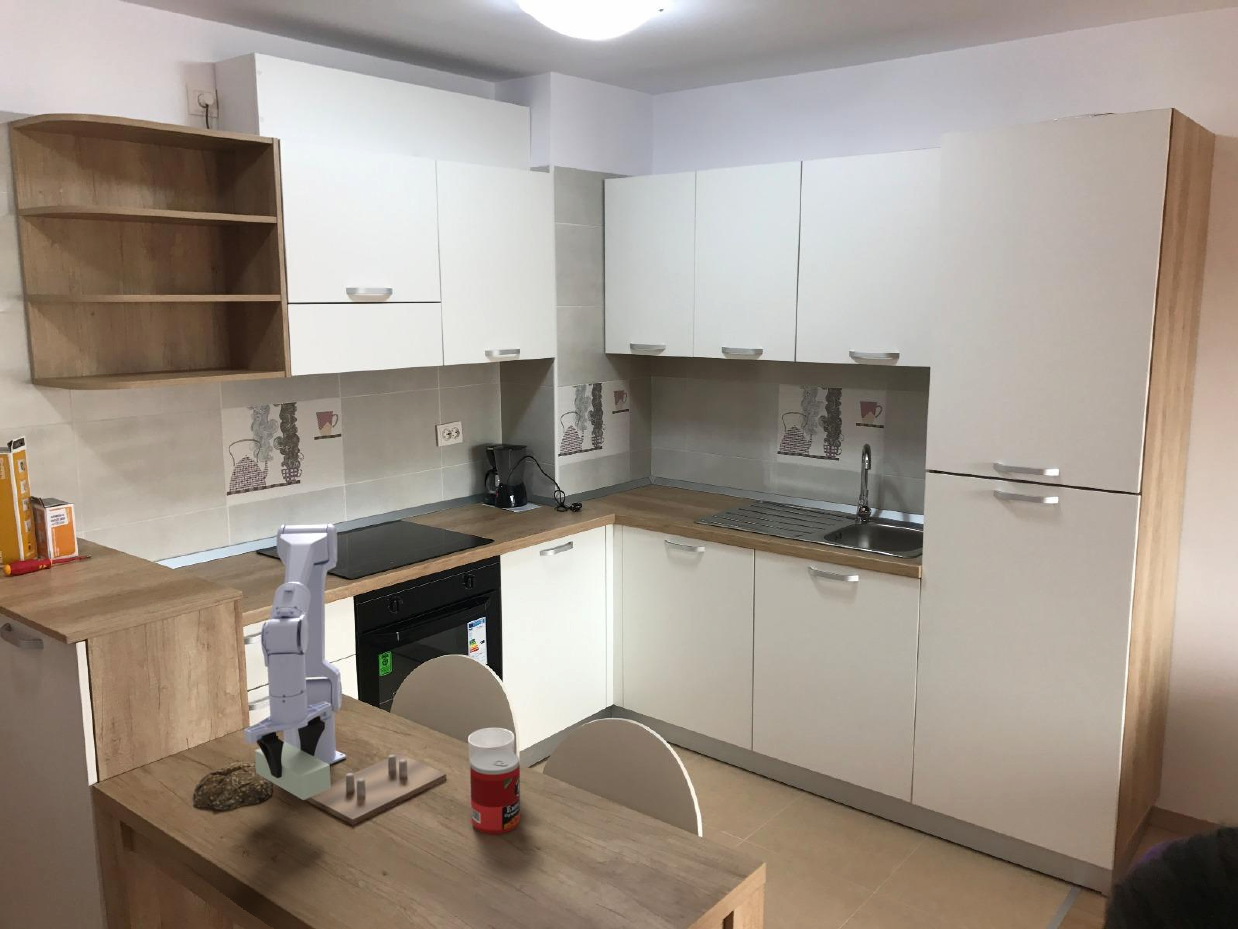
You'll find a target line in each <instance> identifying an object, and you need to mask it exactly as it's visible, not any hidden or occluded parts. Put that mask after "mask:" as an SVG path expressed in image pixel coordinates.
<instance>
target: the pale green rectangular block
mask: <svg viewBox="0 0 1238 929" xmlns="http://www.w3.org/2000/svg"><path fill="white" fill-rule="evenodd" d="M281 740H282V741H284V739H281ZM254 757H255V758H254V759H255V761H254V762H256V773H257V774H259V775H261V776H262V777H264V778H266V779H268V780H269V781H271V782H273V783H274V784H275V785H277V786H278V787H280V788H281V789H283V790H285V791H287V792H289V793H290V794H292V795H294V796H295V797H297V798H298V799H301V801H302V800H303V801H306V799H307V798H309V797H312V796H314V795H317V794H319V793H321V792H324V791H326V790H328V789H331V783H332V782H331V766H330V765H331V764H330V765H329V764H327V763H325V762H323V761H321V760H319V759H317V758H315V757H313V756H312V755H310V754H308V753H306V752H304V751H302V750H300V749H298V748H296V747H294V746H292V745H291V744H289V743H287V742H285V741H284V744H283V749H282V758H281V761H282V776H281V777H280V778H276V777H274V776H272V775H271V772H270V769H269V766H268V763H267V760H266V758H265V756H264V754H263V752H262V750H261V749H260V748H258V749H255V750H254Z"/></svg>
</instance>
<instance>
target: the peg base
mask: <svg viewBox="0 0 1238 929" xmlns="http://www.w3.org/2000/svg"><path fill="white" fill-rule="evenodd" d="M443 780H444V781H445V780H447V774H446V773H444V772H442V771H440V770H438V769H435V768H433V767H431V766H429V765H426V764H424V763H422V762H420V761H417V760H415V759H413V758H410V757H408V756H405V755H404V754H402V753H397V754H389V755H388V756H387V758H385V759H383V760H380V761H378V762H376V763H373V764H371V765H369V766H367V767H365V768H362V769H361V770H357V772H354V773H352V772H348V773H346V774H345V777H342V778H340V779H337V780H335V781H333V782H331V789H328V790H326V791H324V792H321V793H319V794H317V795H314V796H312V797H309V798H307V799H305V801H306V802H308V801H309V802H308V803H309V804H312V805H314V806H316V807H317V808H320V809H321V810H324V811H326V812H327V813H329V814H331V815H333V816H335V817H337V818H338V819H340V820H341V821H342V820H343V821H345V822H346V821H347V823H349V825H351V826H354V825H357V824H359V823H360V821H361V822H363V821H364V819H365V820H367V819H369V818H371V817H373V816H374V815H373V814H375V815H377V814H378V812H379V811H381V812H383V811H386V810H387V809H389V808H391V807H393V806H395V805H398V804H400V803H401V802H403V801H406V800H407V799H409V798H411V797H413V796H415V795H417V794H420V793H422V792H423V791H422V790H424V791H425V789H426V790H427V789H429V787H430V788H431V787H433V786H436V785H437V784H440V783H442V782H443ZM435 784H436V785H435ZM421 791H422V792H421ZM419 792H420V793H419ZM414 794H415V795H414ZM408 797H409V798H408ZM406 798H407V799H406ZM400 801H401V802H400ZM394 804H395V805H394ZM392 805H393V806H392ZM390 806H391V807H390ZM386 808H387V809H386ZM376 813H377V814H376ZM379 813H380V812H379ZM372 815H373V816H372ZM366 818H367V819H366ZM358 822H359V823H358Z"/></svg>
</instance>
